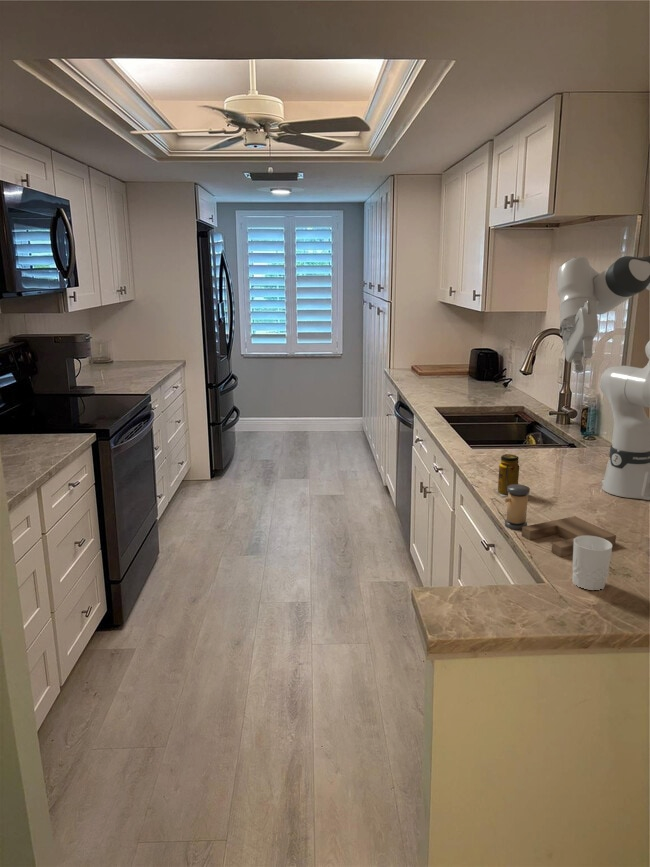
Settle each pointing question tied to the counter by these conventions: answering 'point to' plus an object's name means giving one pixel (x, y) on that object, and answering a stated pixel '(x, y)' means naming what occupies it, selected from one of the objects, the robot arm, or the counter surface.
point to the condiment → (507, 473)
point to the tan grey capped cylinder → (516, 506)
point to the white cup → (591, 562)
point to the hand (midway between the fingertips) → (583, 364)
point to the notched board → (566, 533)
